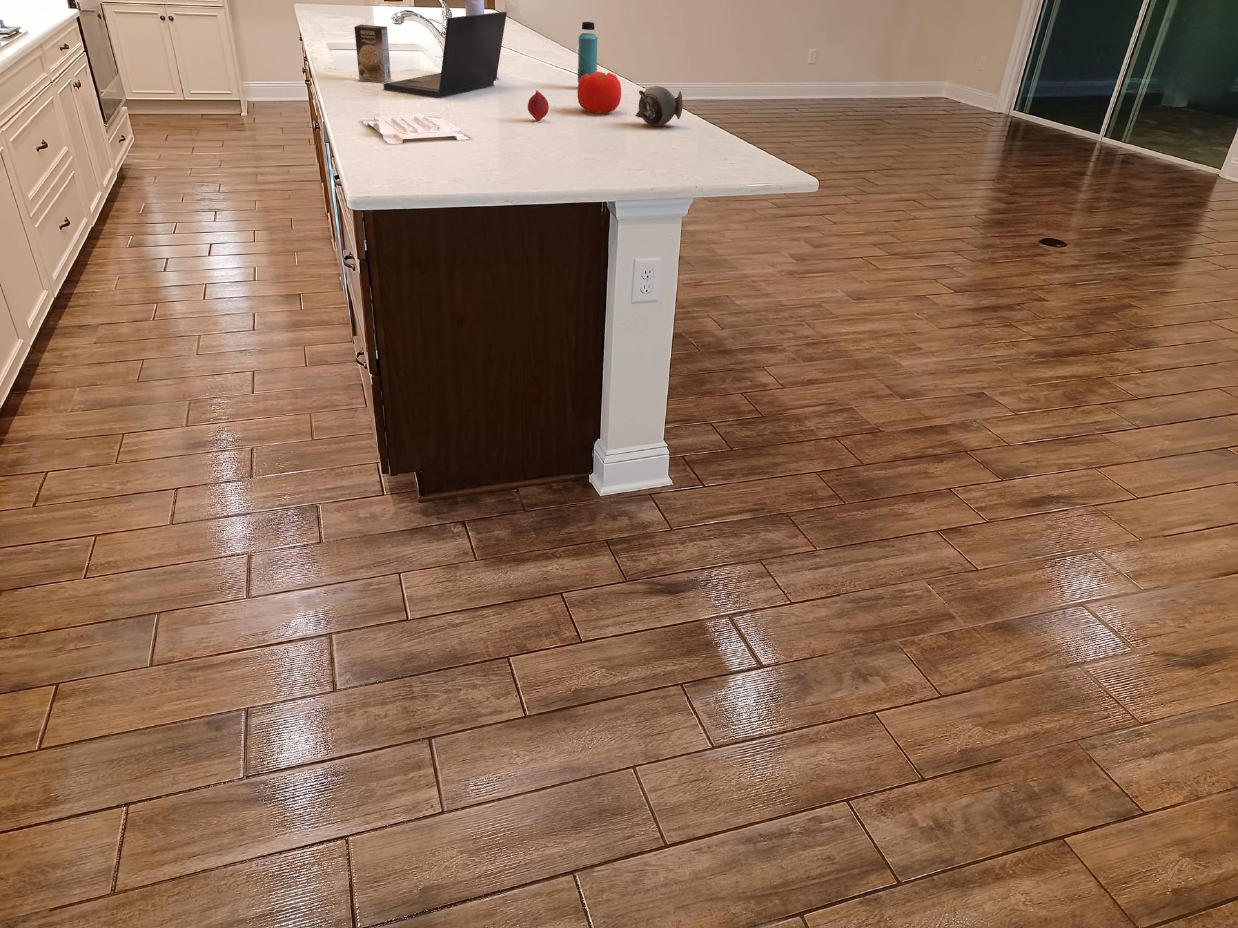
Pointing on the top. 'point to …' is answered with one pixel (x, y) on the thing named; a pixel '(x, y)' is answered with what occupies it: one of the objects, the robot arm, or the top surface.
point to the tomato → (599, 92)
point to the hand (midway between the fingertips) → (477, 66)
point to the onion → (538, 106)
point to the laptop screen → (471, 50)
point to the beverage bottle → (587, 51)
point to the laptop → (428, 86)
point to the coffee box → (372, 53)
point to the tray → (413, 127)
